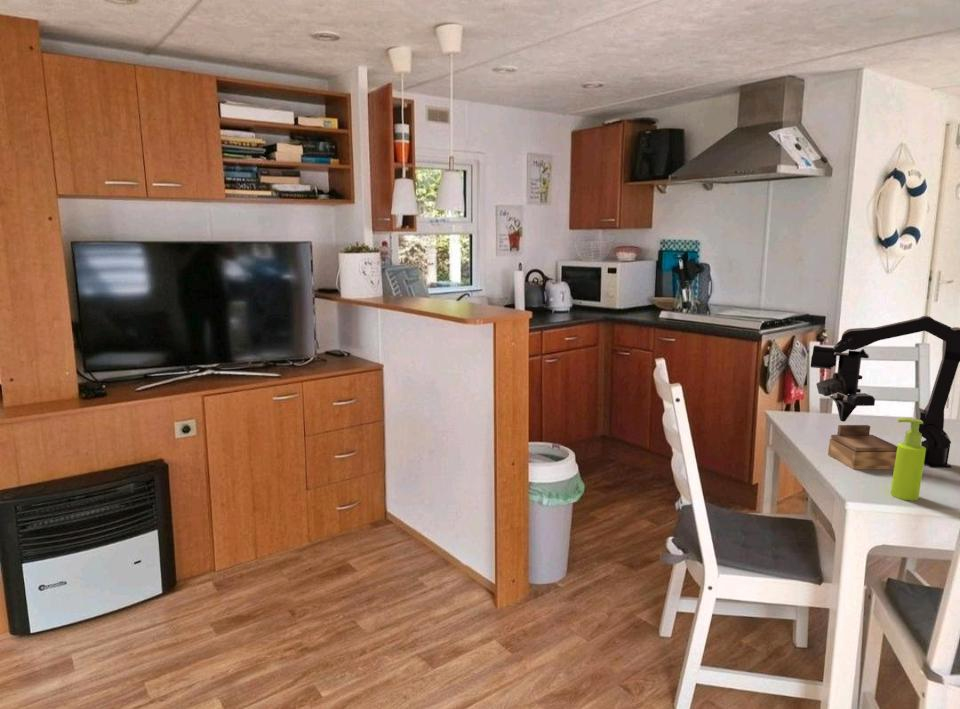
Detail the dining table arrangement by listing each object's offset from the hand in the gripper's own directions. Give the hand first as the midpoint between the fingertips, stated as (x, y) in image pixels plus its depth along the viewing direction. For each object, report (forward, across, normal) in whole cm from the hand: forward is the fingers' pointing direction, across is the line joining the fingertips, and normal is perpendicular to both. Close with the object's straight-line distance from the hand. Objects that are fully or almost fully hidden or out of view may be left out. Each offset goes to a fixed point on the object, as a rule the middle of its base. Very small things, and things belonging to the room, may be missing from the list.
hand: (842, 421), depth 195 cm
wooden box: (+9, +11, 0) cm, 14 cm away
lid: (+4, +11, 0) cm, 12 cm away
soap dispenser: (+9, +35, -6) cm, 37 cm away
